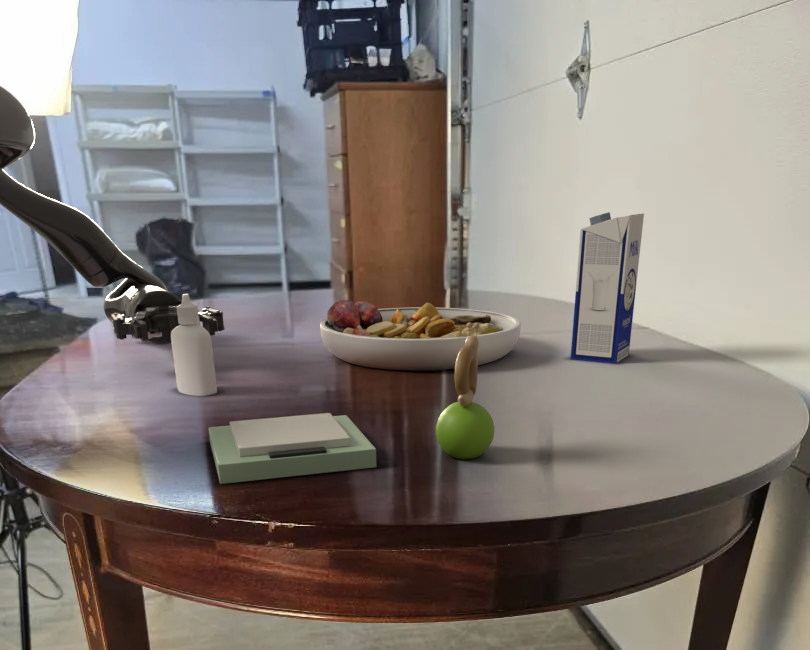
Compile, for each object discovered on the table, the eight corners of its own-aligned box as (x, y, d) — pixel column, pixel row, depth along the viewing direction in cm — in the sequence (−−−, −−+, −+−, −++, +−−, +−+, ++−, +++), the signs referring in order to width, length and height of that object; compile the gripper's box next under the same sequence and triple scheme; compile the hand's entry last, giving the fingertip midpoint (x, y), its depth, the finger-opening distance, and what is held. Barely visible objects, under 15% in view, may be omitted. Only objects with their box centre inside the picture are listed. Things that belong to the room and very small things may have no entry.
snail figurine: (497, 447, 76) (503, 322, 71) (489, 469, 70) (494, 334, 65) (443, 444, 77) (444, 321, 72) (430, 465, 71) (431, 332, 66)
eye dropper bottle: (210, 386, 100) (199, 290, 95) (219, 396, 96) (208, 295, 91) (176, 390, 99) (163, 292, 94) (183, 400, 94) (169, 298, 89)
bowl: (522, 339, 129) (525, 290, 126) (514, 379, 102) (517, 318, 99) (348, 335, 134) (346, 288, 131) (296, 373, 107) (292, 315, 104)
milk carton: (615, 365, 110) (631, 213, 101) (569, 361, 113) (581, 212, 104) (628, 356, 115) (644, 211, 107) (584, 353, 118) (597, 211, 110)
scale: (220, 486, 67) (216, 455, 66) (210, 446, 77) (207, 419, 76) (376, 469, 70) (376, 440, 69) (347, 433, 81) (346, 407, 80)
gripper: (99, 290, 108) (116, 303, 95) (201, 284, 114) (230, 296, 101) (108, 344, 111) (126, 364, 98) (207, 336, 117) (236, 354, 104)
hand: (179, 330), depth 99 cm, fingers open, 8 cm apart
